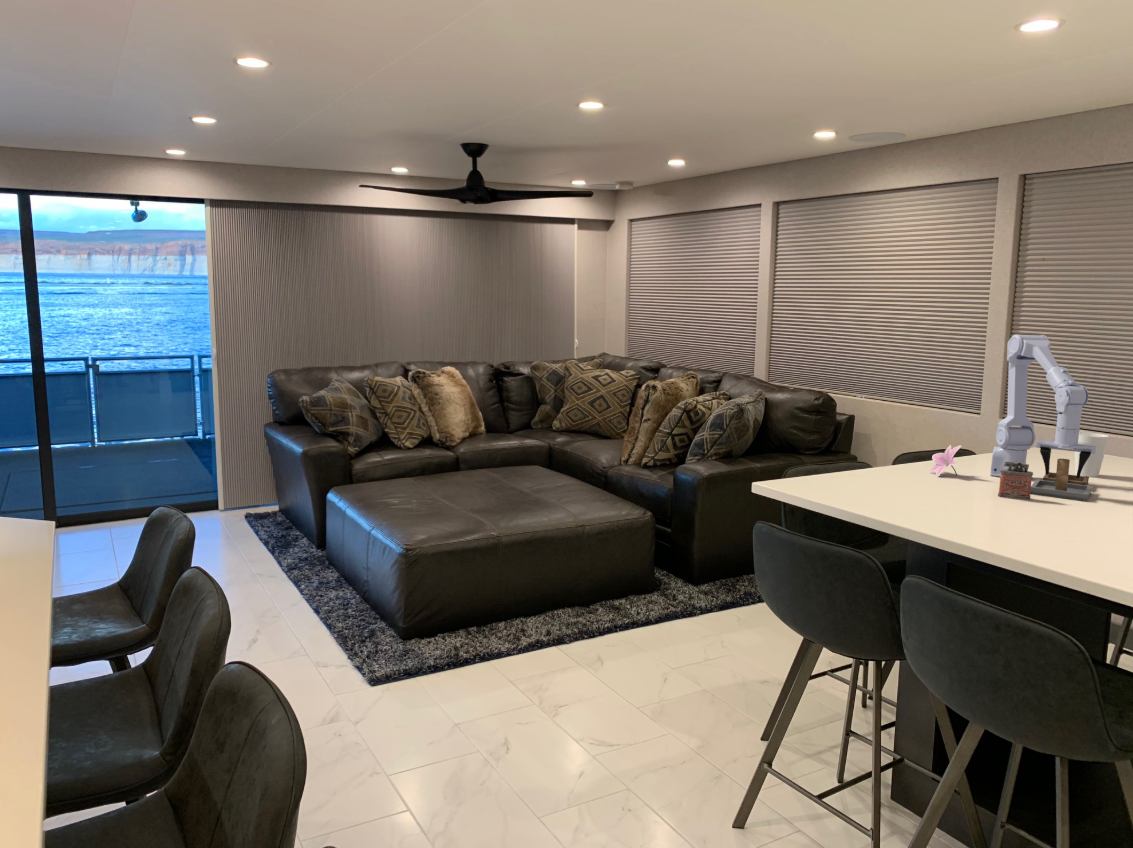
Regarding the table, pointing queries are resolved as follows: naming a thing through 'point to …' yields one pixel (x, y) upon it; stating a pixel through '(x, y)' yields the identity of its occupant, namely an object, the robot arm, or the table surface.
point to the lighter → (1015, 481)
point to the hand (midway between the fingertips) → (1062, 475)
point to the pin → (1062, 474)
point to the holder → (1071, 479)
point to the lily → (944, 460)
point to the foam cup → (1094, 460)
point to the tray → (1072, 490)
